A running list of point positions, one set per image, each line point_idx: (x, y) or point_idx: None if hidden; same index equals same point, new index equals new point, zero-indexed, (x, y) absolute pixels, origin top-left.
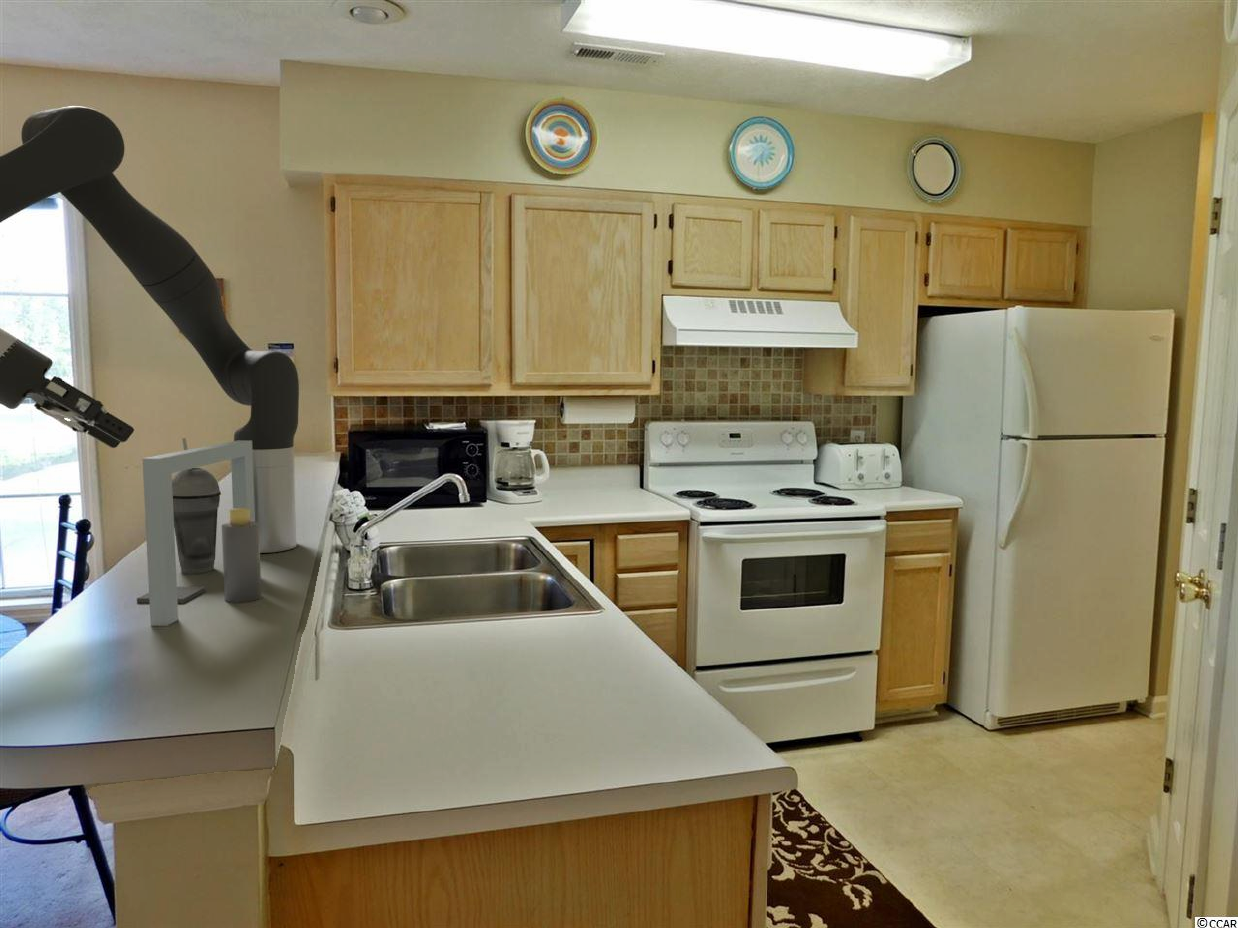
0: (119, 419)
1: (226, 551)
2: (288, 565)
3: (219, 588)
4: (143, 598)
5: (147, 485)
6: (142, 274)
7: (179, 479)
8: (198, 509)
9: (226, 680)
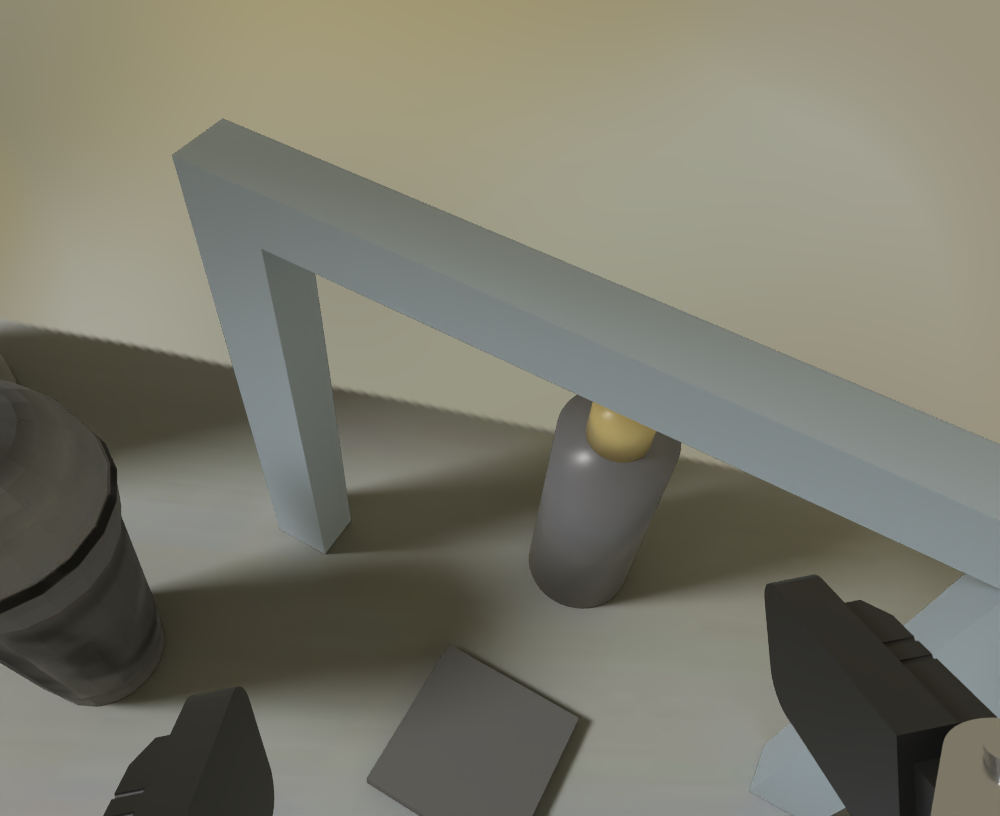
0: (875, 640)
1: (640, 526)
2: (229, 407)
3: (426, 608)
4: None
5: None
6: None
7: None
8: (119, 528)
9: None
